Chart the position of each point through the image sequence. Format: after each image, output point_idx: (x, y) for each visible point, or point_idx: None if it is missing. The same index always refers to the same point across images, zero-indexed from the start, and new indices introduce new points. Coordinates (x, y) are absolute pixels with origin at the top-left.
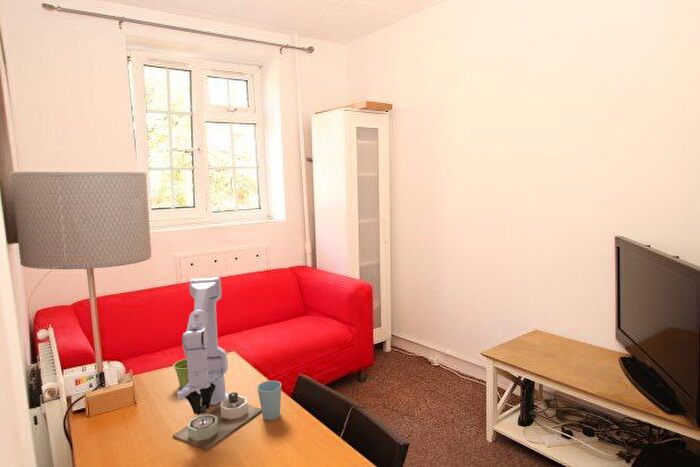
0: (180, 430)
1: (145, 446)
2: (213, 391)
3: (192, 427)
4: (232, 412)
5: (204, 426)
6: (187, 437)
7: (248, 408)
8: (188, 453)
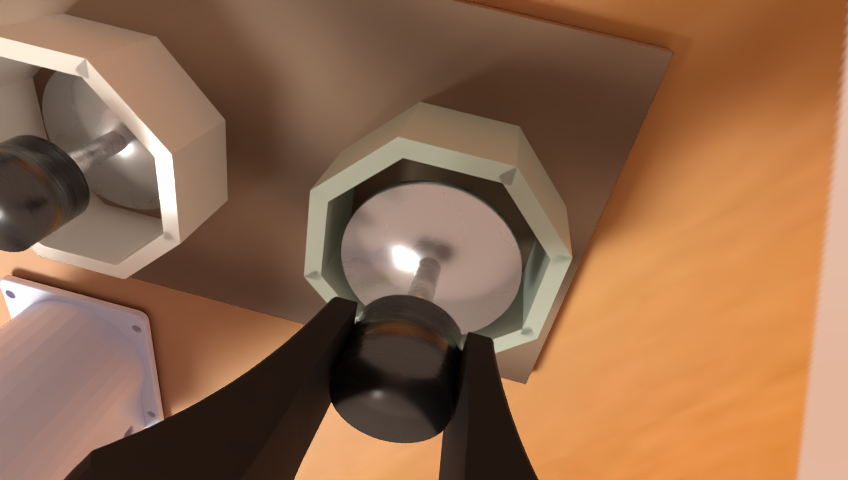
0: None
1: (640, 455)
2: (169, 421)
3: None
4: (165, 109)
5: (495, 215)
6: None
7: None
8: (713, 184)
